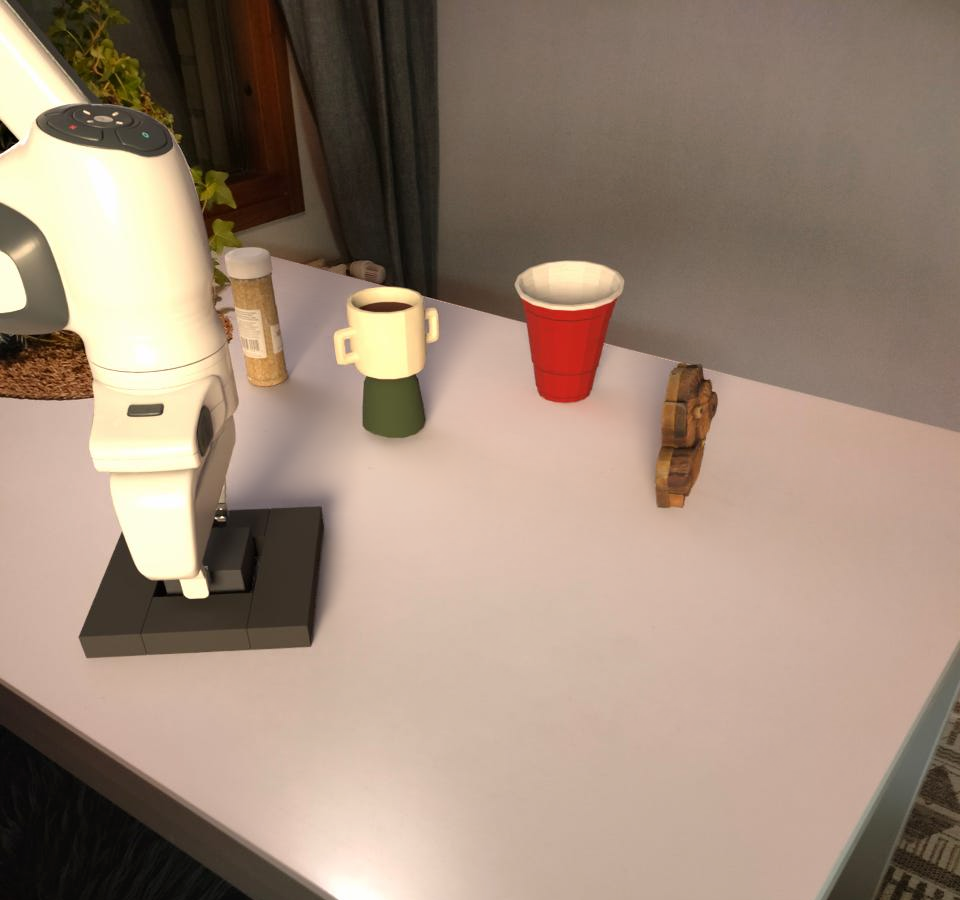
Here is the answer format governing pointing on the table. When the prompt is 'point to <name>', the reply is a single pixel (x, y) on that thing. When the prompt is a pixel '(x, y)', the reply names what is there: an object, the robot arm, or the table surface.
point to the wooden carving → (683, 433)
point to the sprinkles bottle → (257, 315)
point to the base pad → (215, 597)
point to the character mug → (388, 356)
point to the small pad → (226, 562)
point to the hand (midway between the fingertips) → (208, 556)
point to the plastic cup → (567, 323)
